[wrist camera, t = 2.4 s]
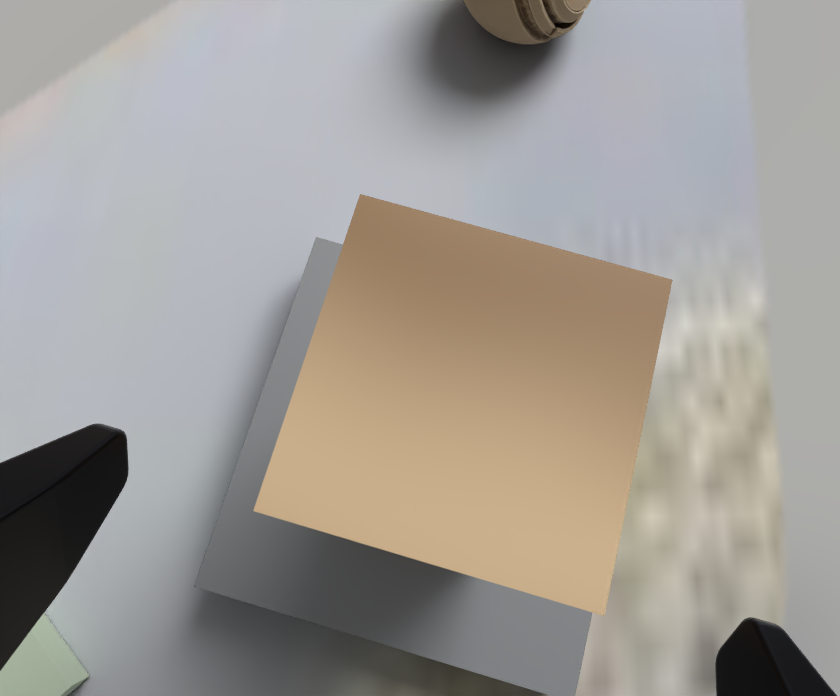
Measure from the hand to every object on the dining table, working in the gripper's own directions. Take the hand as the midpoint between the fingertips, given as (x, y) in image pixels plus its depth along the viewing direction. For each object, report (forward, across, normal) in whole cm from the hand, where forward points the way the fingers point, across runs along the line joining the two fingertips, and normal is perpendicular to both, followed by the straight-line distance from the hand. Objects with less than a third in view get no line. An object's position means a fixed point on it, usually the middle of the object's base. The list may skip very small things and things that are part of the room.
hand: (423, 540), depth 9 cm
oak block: (+7, 0, +4) cm, 8 cm away
